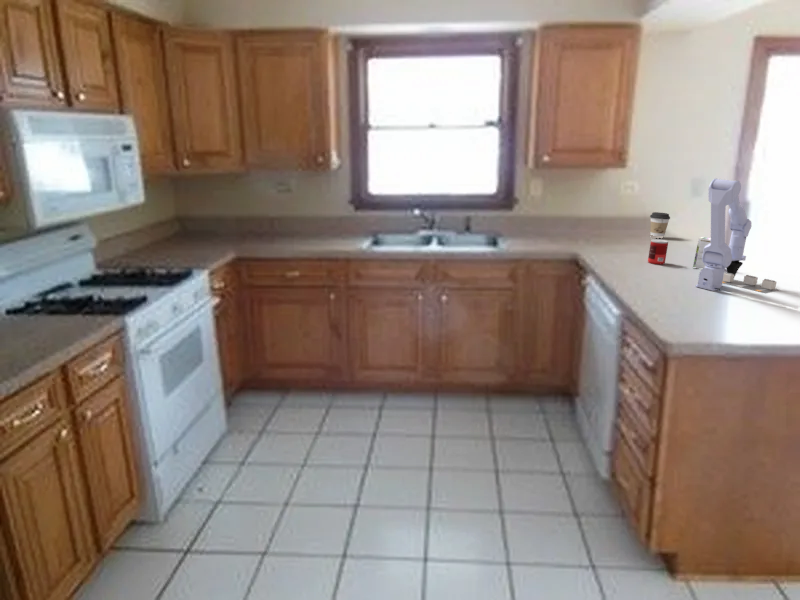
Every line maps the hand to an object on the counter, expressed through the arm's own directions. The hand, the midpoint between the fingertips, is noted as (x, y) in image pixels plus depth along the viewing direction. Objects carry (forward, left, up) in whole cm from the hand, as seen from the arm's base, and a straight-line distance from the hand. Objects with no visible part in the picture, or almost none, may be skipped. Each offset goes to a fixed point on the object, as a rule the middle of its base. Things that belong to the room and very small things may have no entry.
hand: (730, 278), depth 261 cm
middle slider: (+1, -8, -1) cm, 8 cm away
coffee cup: (+73, +86, -2) cm, 113 cm away
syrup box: (+16, +23, -2) cm, 28 cm away
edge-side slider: (+1, -15, -1) cm, 15 cm away
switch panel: (-2, -8, -2) cm, 8 cm away
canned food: (+6, +40, -2) cm, 41 cm away
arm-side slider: (-3, 0, -1) cm, 3 cm away
